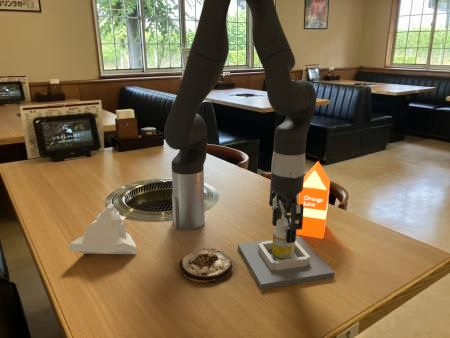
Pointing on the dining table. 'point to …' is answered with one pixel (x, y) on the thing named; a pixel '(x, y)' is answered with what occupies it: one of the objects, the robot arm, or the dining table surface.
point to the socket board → (284, 264)
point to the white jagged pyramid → (105, 235)
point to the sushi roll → (206, 265)
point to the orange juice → (314, 202)
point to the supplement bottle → (281, 242)
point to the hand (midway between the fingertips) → (283, 233)
